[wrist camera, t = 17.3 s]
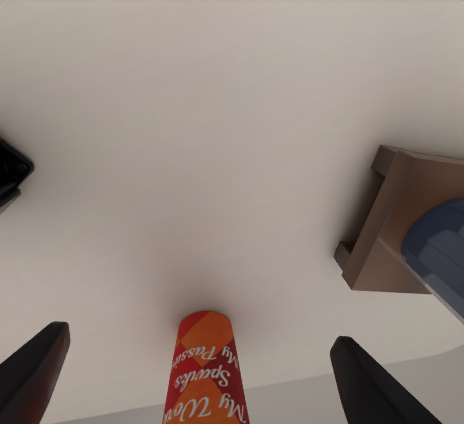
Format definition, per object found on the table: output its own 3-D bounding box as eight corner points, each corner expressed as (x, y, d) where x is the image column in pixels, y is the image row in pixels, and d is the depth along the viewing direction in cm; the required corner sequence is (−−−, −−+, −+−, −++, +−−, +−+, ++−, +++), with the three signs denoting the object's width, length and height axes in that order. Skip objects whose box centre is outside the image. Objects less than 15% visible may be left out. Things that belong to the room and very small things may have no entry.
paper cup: (240, 299, 26) (272, 501, 14) (242, 348, 30) (269, 542, 18) (160, 307, 26) (121, 524, 14) (173, 356, 30) (151, 561, 17)
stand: (330, 258, 25) (351, 290, 21) (378, 142, 20) (416, 158, 16) (432, 266, 27) (466, 296, 23) (500, 160, 22) (558, 178, 18)
